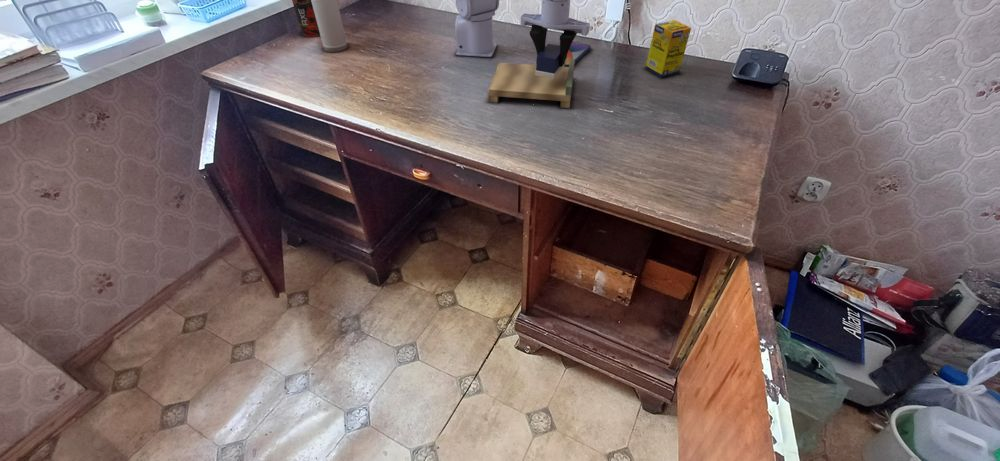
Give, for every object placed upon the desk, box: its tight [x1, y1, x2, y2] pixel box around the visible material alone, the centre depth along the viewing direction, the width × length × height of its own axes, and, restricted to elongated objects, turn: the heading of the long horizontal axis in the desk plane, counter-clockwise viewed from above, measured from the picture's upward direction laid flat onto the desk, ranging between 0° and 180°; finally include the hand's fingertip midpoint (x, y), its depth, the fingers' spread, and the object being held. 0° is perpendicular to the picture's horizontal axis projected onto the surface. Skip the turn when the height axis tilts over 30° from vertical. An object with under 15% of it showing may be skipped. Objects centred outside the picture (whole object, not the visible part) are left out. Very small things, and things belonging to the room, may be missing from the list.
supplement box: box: [645, 19, 692, 78], centre depth 111 cm, size 6×6×11 cm
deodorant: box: [291, 0, 320, 38], centre depth 129 cm, size 6×6×15 cm
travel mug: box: [311, 0, 349, 53], centre depth 119 cm, size 6×7×20 cm
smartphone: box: [564, 41, 591, 67], centre depth 121 cm, size 7×15×1 cm, turn 151°
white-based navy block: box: [535, 43, 567, 79], centre depth 102 cm, size 9×4×4 cm, turn 156°
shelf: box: [488, 59, 576, 109], centre depth 106 cm, size 18×14×5 cm
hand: (551, 62), depth 103 cm, fingers closed on white-based navy block, 4 cm apart
